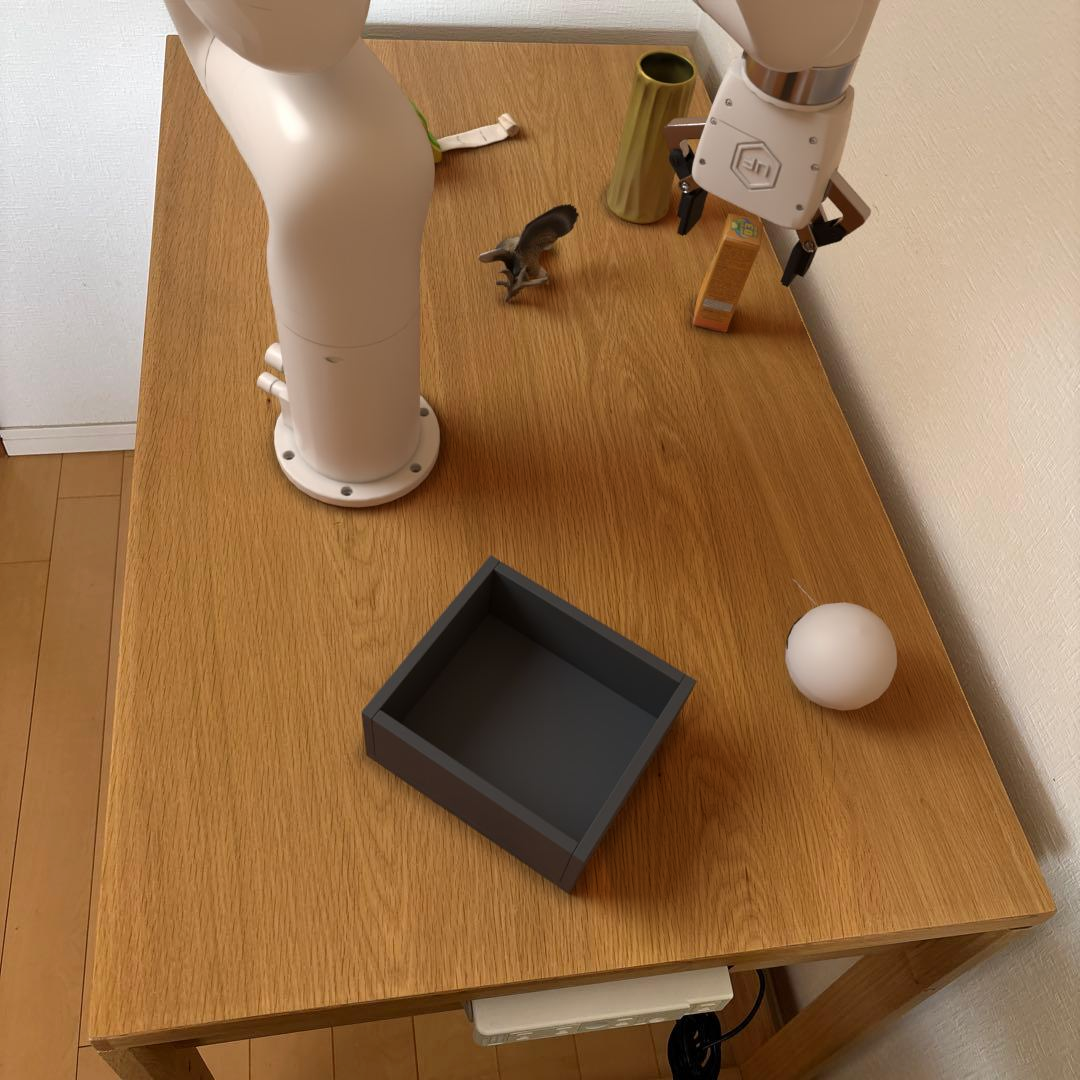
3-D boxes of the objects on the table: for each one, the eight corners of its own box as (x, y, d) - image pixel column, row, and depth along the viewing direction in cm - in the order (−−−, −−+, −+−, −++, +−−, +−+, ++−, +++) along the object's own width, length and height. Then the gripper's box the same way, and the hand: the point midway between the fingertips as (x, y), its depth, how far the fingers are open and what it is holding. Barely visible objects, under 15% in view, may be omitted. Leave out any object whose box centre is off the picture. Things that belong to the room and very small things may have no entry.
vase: (679, 200, 100) (715, 64, 88) (649, 234, 97) (681, 97, 85) (625, 174, 101) (653, 36, 89) (594, 206, 98) (618, 68, 86)
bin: (365, 755, 66) (360, 711, 60) (484, 606, 73) (490, 554, 67) (568, 894, 63) (584, 862, 57) (673, 724, 70) (697, 680, 64)
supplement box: (729, 334, 90) (761, 246, 82) (691, 326, 90) (719, 237, 82) (733, 308, 92) (765, 219, 84) (696, 300, 92) (723, 210, 84)
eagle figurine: (570, 311, 88) (596, 231, 92) (529, 255, 83) (558, 172, 86) (498, 320, 93) (525, 243, 96) (455, 268, 87) (486, 188, 91)
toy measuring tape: (318, 155, 98) (312, 93, 92) (499, 112, 104) (504, 51, 99) (344, 196, 95) (340, 135, 90) (529, 150, 102) (535, 89, 96)
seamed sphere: (890, 717, 72) (935, 671, 65) (793, 736, 70) (829, 691, 64) (837, 594, 77) (873, 541, 71) (745, 609, 75) (774, 556, 69)
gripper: (665, 37, 71) (627, 231, 85) (894, 137, 67) (814, 323, 81) (715, -9, 75) (670, 184, 89) (934, 84, 71) (851, 271, 85)
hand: (739, 251), depth 85 cm, fingers open, 9 cm apart
